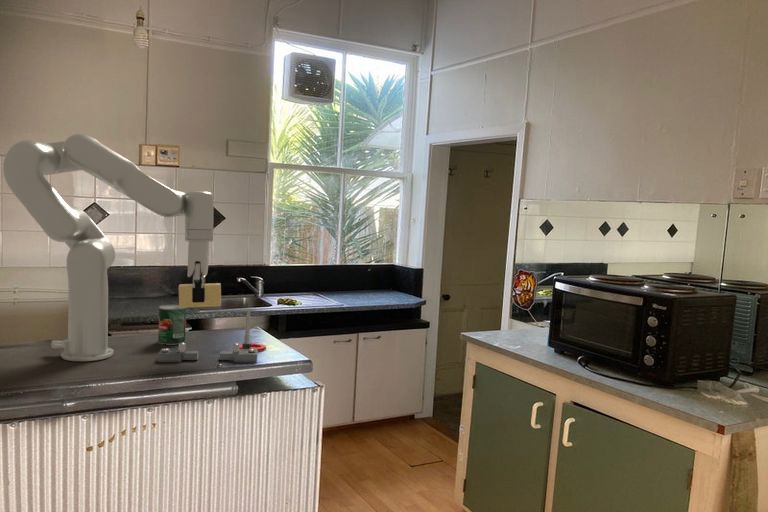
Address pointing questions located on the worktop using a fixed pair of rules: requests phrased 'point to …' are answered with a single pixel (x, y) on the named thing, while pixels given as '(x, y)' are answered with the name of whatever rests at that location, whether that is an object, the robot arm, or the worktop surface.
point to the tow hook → (247, 337)
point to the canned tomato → (171, 324)
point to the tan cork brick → (210, 296)
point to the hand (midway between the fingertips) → (199, 300)
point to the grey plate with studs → (182, 354)
